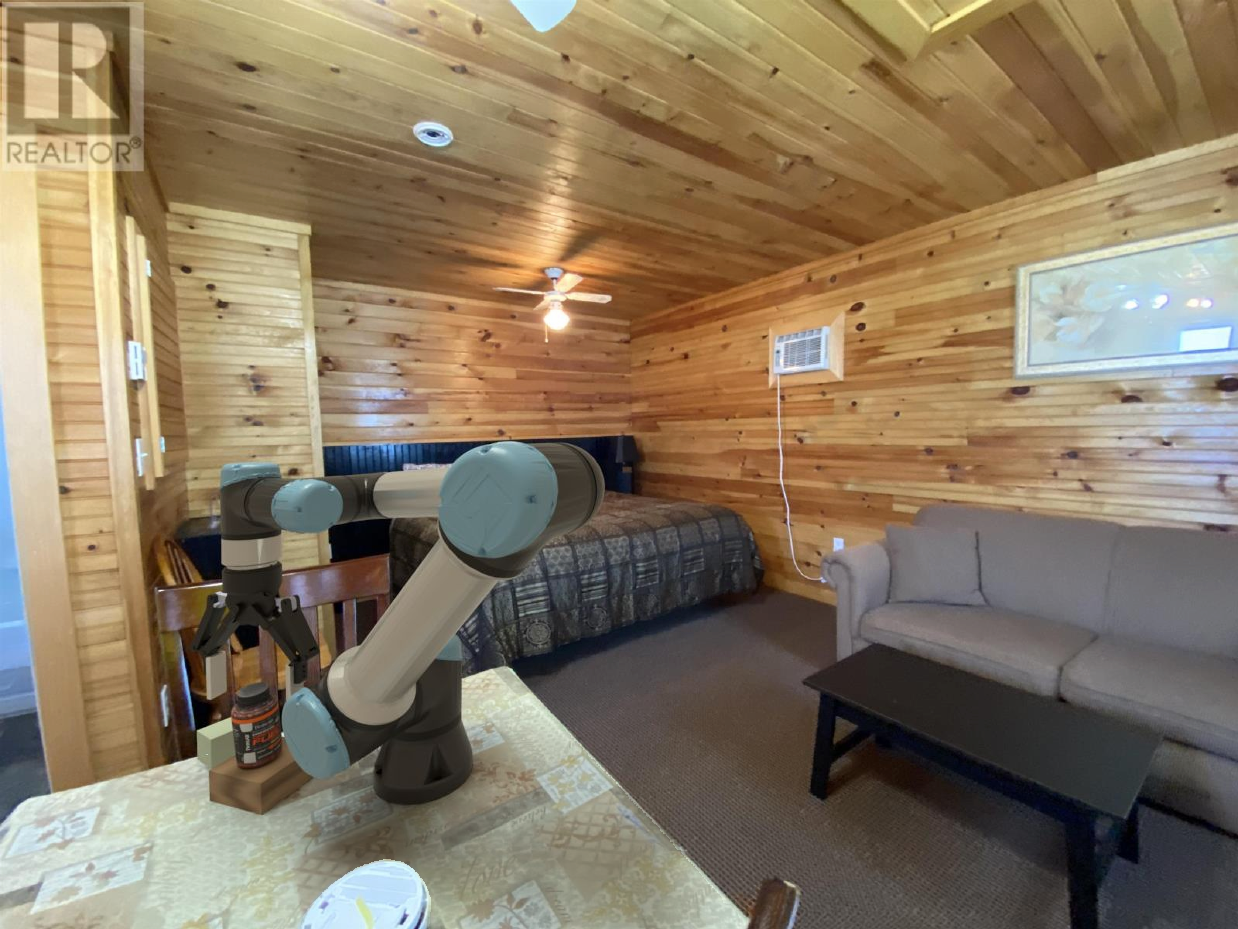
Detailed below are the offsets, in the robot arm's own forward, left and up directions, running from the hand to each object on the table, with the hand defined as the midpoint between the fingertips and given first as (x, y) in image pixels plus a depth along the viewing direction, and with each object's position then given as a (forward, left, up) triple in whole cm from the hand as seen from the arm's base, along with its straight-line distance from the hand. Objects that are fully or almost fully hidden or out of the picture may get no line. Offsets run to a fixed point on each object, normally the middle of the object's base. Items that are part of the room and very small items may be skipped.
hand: (255, 699), depth 80 cm
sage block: (+12, -6, -14) cm, 19 cm away
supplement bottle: (-1, 0, -9) cm, 9 cm away
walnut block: (-2, 0, -14) cm, 14 cm away
